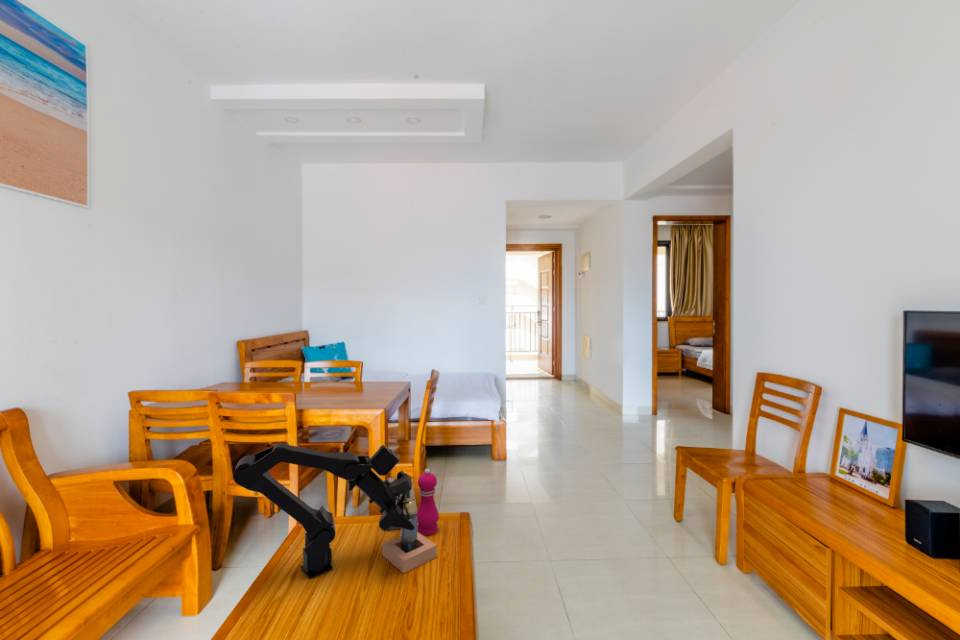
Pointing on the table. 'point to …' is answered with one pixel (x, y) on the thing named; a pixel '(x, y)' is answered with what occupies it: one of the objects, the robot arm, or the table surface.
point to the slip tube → (407, 535)
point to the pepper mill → (427, 504)
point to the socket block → (409, 553)
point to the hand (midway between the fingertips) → (414, 524)
